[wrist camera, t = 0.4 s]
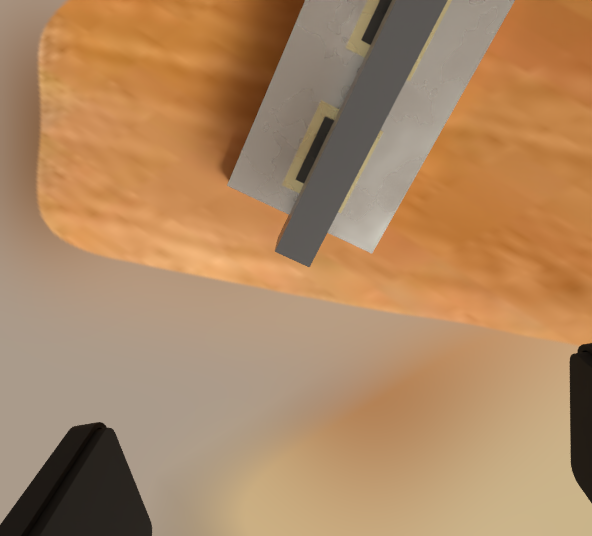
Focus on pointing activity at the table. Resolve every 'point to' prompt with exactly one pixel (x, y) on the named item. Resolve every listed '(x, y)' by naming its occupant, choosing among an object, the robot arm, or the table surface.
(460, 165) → the table surface
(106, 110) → the table surface
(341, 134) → the lever
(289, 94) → the label panel
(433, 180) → the table surface
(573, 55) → the table surface
